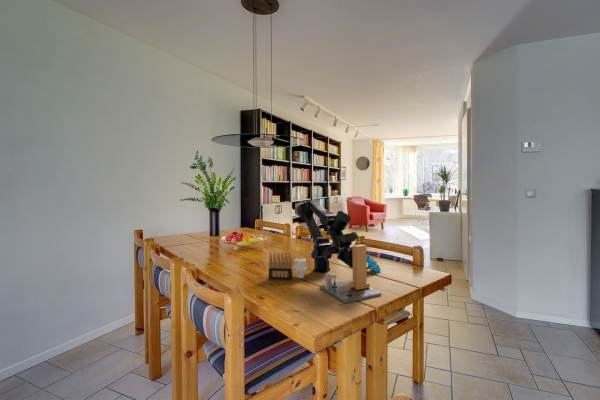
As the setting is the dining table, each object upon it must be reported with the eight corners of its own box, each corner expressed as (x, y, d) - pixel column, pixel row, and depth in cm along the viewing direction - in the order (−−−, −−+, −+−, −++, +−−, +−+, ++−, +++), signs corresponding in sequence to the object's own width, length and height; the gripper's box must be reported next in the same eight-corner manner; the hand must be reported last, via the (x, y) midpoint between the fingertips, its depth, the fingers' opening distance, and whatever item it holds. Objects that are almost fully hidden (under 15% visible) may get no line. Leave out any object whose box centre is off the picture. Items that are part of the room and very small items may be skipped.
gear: (377, 272, 133) (363, 254, 137) (368, 280, 134) (354, 262, 139) (384, 269, 142) (371, 253, 146) (375, 276, 144) (362, 260, 148)
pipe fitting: (299, 273, 137) (299, 257, 136) (310, 277, 132) (310, 259, 131) (290, 276, 132) (289, 259, 132) (301, 280, 127) (300, 262, 127)
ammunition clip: (292, 278, 130) (292, 252, 129) (292, 280, 128) (291, 253, 127) (269, 278, 131) (269, 251, 131) (268, 279, 129) (268, 252, 129)
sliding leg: (337, 288, 113) (336, 246, 112) (361, 283, 119) (361, 243, 118) (344, 292, 109) (344, 249, 108) (369, 287, 114) (369, 245, 113)
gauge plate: (319, 288, 117) (319, 273, 117) (353, 281, 125) (353, 268, 124) (344, 303, 102) (344, 286, 101) (381, 295, 109) (381, 279, 109)
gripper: (326, 227, 118) (341, 259, 109) (362, 224, 127) (380, 254, 117) (317, 243, 126) (330, 275, 116) (352, 239, 134) (367, 268, 125)
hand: (353, 267), depth 118 cm, fingers closed
